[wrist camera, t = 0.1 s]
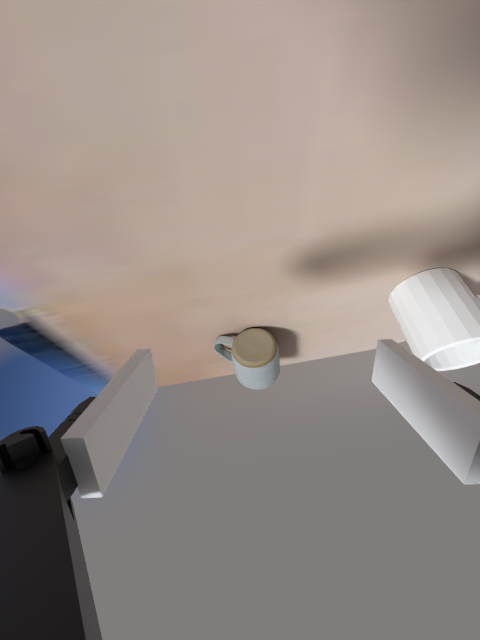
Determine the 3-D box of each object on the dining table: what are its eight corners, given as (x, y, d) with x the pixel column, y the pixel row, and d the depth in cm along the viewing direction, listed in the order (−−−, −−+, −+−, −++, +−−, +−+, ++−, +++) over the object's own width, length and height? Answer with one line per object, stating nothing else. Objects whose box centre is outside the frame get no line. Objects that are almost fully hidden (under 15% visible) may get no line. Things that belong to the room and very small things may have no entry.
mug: (491, 283, 33) (547, 350, 27) (391, 314, 38) (420, 376, 32) (505, 241, 27) (578, 314, 21) (384, 284, 32) (418, 352, 26)
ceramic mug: (276, 322, 38) (281, 368, 34) (277, 347, 45) (282, 389, 41) (208, 328, 39) (205, 374, 35) (219, 352, 46) (217, 393, 42)
